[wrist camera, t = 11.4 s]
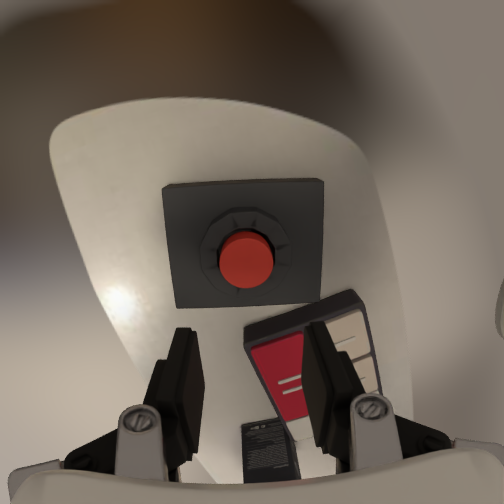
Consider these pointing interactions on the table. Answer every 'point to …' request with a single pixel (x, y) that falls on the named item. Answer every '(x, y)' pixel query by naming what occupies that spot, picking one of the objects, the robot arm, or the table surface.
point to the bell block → (238, 220)
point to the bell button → (246, 259)
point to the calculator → (291, 350)
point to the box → (268, 453)
